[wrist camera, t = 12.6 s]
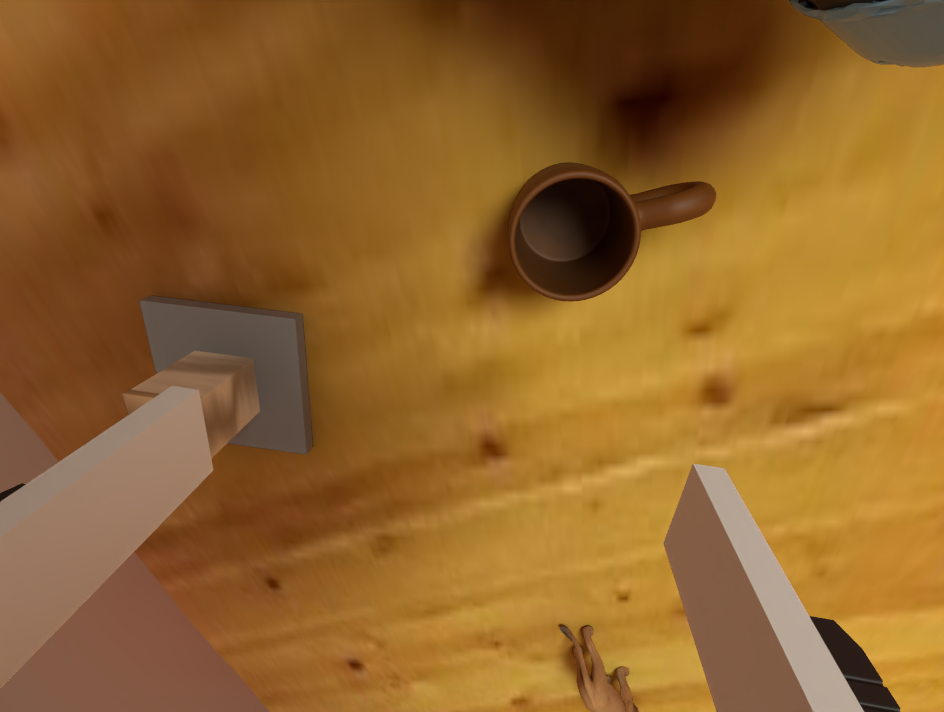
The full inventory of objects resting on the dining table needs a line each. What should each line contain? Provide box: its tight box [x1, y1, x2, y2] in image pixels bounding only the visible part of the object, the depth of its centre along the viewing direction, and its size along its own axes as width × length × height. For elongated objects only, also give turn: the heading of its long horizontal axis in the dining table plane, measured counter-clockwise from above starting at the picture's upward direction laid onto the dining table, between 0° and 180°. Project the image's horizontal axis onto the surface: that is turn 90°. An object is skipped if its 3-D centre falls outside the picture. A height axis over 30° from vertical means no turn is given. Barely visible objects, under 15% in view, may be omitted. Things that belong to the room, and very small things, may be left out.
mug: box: [508, 163, 716, 301], centre depth 30 cm, size 12×8×9 cm, turn 107°
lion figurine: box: [560, 626, 639, 712], centre depth 50 cm, size 15×5×9 cm, turn 45°
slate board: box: [139, 296, 313, 455], centre depth 43 cm, size 14×14×1 cm
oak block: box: [122, 351, 260, 459], centre depth 39 cm, size 6×6×8 cm
